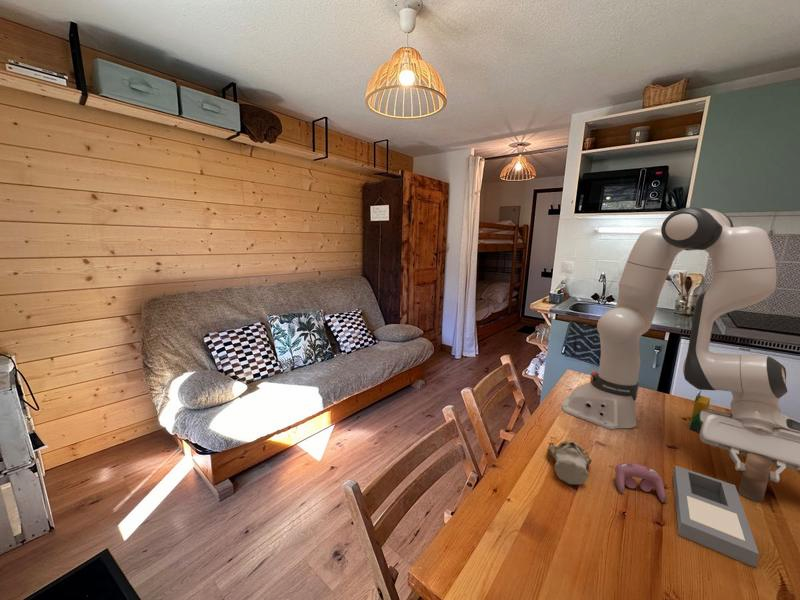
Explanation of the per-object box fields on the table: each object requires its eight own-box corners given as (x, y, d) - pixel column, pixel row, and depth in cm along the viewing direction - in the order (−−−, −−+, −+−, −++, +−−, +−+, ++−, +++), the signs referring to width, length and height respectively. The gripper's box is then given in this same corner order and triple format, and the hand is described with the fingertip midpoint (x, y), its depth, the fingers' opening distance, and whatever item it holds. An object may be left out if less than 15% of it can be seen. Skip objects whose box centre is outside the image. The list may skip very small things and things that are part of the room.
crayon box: (700, 433, 104) (707, 399, 102) (688, 428, 106) (695, 395, 104) (705, 425, 109) (712, 392, 107) (693, 421, 111) (699, 389, 109)
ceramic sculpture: (550, 450, 80) (549, 423, 93) (546, 483, 81) (546, 451, 94) (600, 464, 75) (592, 433, 89) (595, 498, 76) (588, 463, 90)
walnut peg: (740, 496, 78) (749, 459, 76) (737, 487, 81) (745, 450, 79) (764, 505, 75) (774, 466, 74) (760, 494, 79) (769, 457, 77)
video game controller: (659, 499, 79) (658, 467, 80) (668, 504, 74) (667, 471, 76) (612, 488, 82) (612, 458, 84) (618, 493, 78) (618, 461, 79)
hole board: (678, 535, 67) (681, 521, 67) (673, 475, 84) (675, 464, 84) (755, 567, 61) (759, 553, 60) (732, 496, 78) (735, 484, 77)
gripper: (702, 402, 87) (700, 453, 81) (823, 430, 74) (830, 493, 69) (697, 411, 91) (694, 460, 85) (810, 438, 79) (816, 498, 73)
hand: (756, 475), depth 77 cm, fingers closed on walnut peg, 4 cm apart
